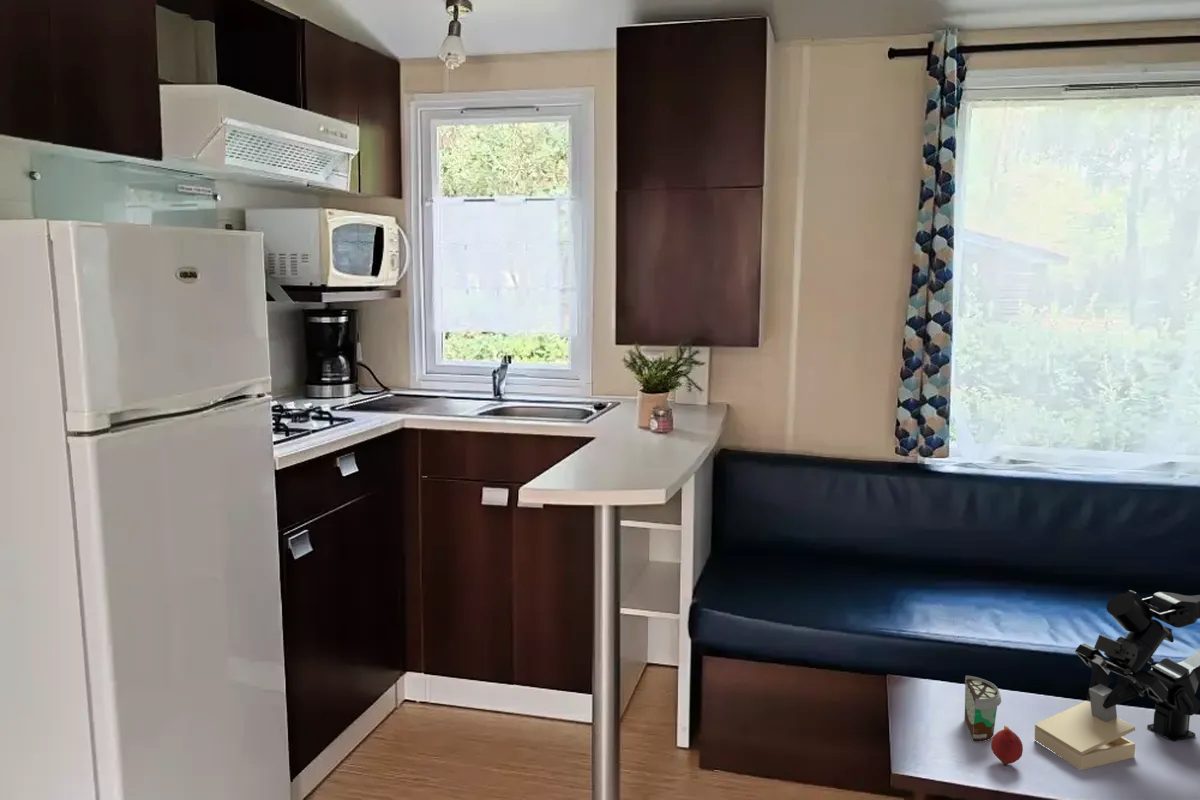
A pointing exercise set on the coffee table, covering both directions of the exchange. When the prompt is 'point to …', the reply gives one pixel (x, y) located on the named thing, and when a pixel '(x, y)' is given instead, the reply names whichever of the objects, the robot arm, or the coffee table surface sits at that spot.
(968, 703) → the food container
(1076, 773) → the coffee table surface
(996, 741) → the onion
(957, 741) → the coffee table surface
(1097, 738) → the carton flap
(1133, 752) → the carton
